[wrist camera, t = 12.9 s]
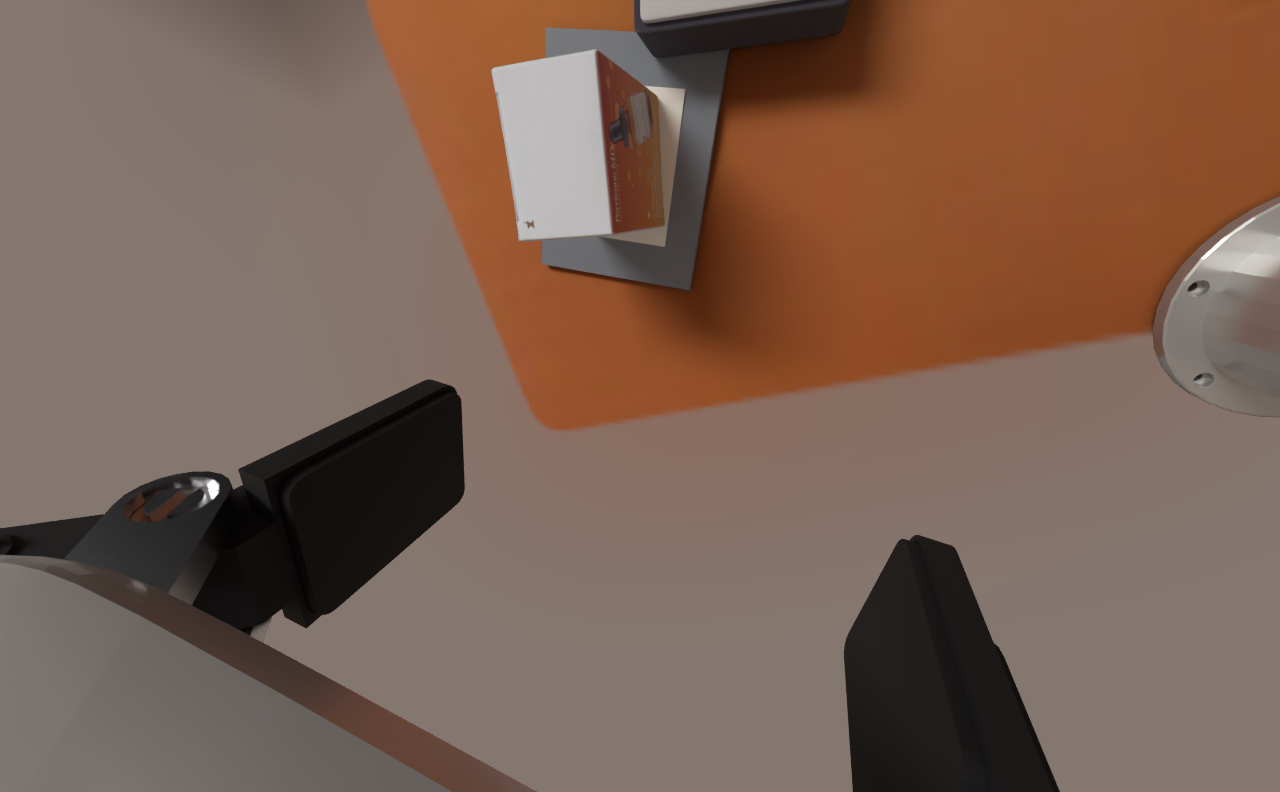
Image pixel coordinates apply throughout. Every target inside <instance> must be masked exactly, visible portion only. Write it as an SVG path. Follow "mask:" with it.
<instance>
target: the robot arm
mask: <svg viewBox="0 0 1280 792" xmlns="http://www.w3.org/2000/svg"><path fill="white" fill-rule="evenodd" d="M1190 285H1191V286H1190ZM1189 286H1190V287H1189ZM1188 287H1189V288H1188ZM1153 340H1154V349H1155V352H1156V355H1157V357H1158V360H1159V362H1160V365H1161V367H1162V368H1163V369H1164V370H1165V372H1166V373H1167V374H1168V376H1169V377H1170V378H1171V379H1172V381H1174V382H1175V383H1176V384H1178V385H1179V386H1180V387H1181V388H1183V389H1184V390H1185V391H1186V392H1188V393H1190V394H1192V395H1194V396H1196V397H1198V398H1200V399H1201V400H1203V401H1205V402H1207V403H1209V404H1212V405H1215V406H1218V407H1220V408H1223V409H1226V410H1229V411H1232V412H1237V413H1242V414H1248V415H1253V416H1262V417H1280V196H1279V197H1277V198H1274V199H1272V200H1270V201H1268V202H1266V203H1264V204H1262V205H1259V206H1257V207H1255V208H1253V209H1252V210H1250V211H1249V212H1247V213H1245V214H1244V215H1242V216H1240V217H1239V218H1237V219H1236V220H1234V221H1232V222H1231V223H1229V224H1227V225H1226V226H1224V227H1223V228H1222V229H1221V230H1219V231H1218V232H1217V233H1216V234H1214V235H1213V236H1212V237H1211V238H1209V239H1208V240H1207V241H1206V242H1204V243H1203V244H1202V245H1201V246H1200V247H1199V248H1198V249H1197V250H1196V251H1195V252H1194V253H1193V254H1192V255H1191V256H1190V257H1189V258H1188V259H1187V260H1186V261H1185V263H1184V264H1183V265H1182V266H1181V267H1180V268H1179V270H1178V271H1177V272H1176V274H1175V275H1174V277H1173V278H1172V280H1171V281H1170V283H1169V284H1168V286H1167V287H1166V289H1165V291H1164V293H1163V296H1162V298H1161V300H1160V303H1159V305H1158V307H1157V309H1156V314H1155V320H1154V325H1153ZM461 408H462V407H461V398H460V397H459V396H458V395H457V392H456V390H455V388H454V387H452V386H450V385H447V384H443V383H440V382H437V381H434V380H425V381H423V382H421V383H419V384H416V385H414V386H412V387H410V388H408V389H406V390H404V391H402V392H400V393H398V394H396V395H393V396H391V397H389V398H387V399H385V400H383V401H381V402H379V403H377V404H374V405H372V406H370V407H368V408H366V409H364V410H362V411H360V412H358V413H355V414H353V415H351V416H349V417H347V418H345V419H343V420H341V421H339V422H337V423H334V424H332V425H330V426H328V427H326V428H324V429H322V430H320V431H318V432H316V433H313V434H311V435H309V436H307V437H305V438H303V439H301V440H299V441H297V442H295V443H293V444H290V445H288V446H286V447H284V448H282V449H280V450H278V451H276V452H274V453H271V454H269V455H267V456H265V457H264V458H261V459H259V460H257V461H255V462H253V463H251V464H248V465H246V466H244V467H242V468H240V469H239V473H240V476H241V480H242V483H243V485H242V486H240V487H238V488H236V489H234V490H233V488H232V485H231V482H230V480H229V478H227V477H225V476H224V475H222V474H219V473H214V472H209V471H208V472H207V471H206V472H205V471H204V472H187V473H181V474H175V475H171V476H167V477H163V478H160V479H156V480H154V481H151V482H149V483H146V484H144V485H141V486H139V487H138V488H136V489H134V490H132V491H130V492H128V493H127V494H125V495H124V496H123V497H121V498H120V499H119V500H118V501H117V502H115V503H114V504H113V505H112V506H111V508H110V509H109V510H108V511H107V512H106V513H105V514H103V515H95V516H88V517H81V518H74V519H67V520H59V521H51V522H45V523H37V524H31V525H23V526H16V527H8V528H0V792H536V791H534V790H533V789H531V788H529V787H527V786H525V785H524V784H522V783H520V782H518V781H516V780H515V779H513V778H511V777H509V776H507V775H505V774H504V773H502V772H500V771H498V770H496V769H494V768H493V767H491V766H489V765H487V764H485V763H483V762H482V761H480V760H478V759H476V758H474V757H472V756H471V755H468V754H467V753H465V752H463V751H462V750H460V749H458V748H456V747H454V746H452V745H450V744H449V743H447V742H445V741H443V740H441V739H440V738H438V737H436V736H434V735H432V734H430V733H429V732H426V731H425V730H423V729H421V728H419V727H418V726H416V725H414V724H412V723H410V722H408V721H407V720H405V719H403V718H401V717H399V716H397V715H396V714H394V713H392V712H390V711H388V710H386V709H384V708H382V707H381V706H379V705H377V704H375V703H374V702H372V701H370V700H368V699H366V698H364V697H363V696H361V695H358V694H357V693H355V692H353V691H351V690H349V689H348V688H346V687H344V686H342V685H340V684H339V683H337V682H335V681H333V680H331V679H329V678H327V677H326V676H324V675H322V674H320V673H318V672H316V671H314V670H313V669H310V668H309V667H307V666H305V665H303V664H301V663H299V662H298V661H296V660H294V659H292V658H290V657H288V656H286V655H284V654H283V653H281V652H279V651H277V650H275V649H273V648H271V647H270V646H268V645H266V644H264V643H263V641H264V638H265V635H266V632H267V629H268V626H269V624H270V621H271V618H272V616H273V615H274V614H276V613H277V612H278V611H279V610H281V609H282V610H283V613H284V616H285V617H286V618H287V619H289V620H291V621H293V622H295V623H297V624H299V625H301V626H303V627H305V628H307V627H309V625H311V624H312V623H313V622H314V621H315V620H317V619H318V618H319V617H320V616H321V615H325V614H329V613H331V612H332V611H334V610H335V609H336V608H337V607H339V606H340V605H341V604H342V603H343V602H345V601H346V600H347V599H348V598H349V597H350V596H351V595H353V594H354V593H355V592H356V591H357V590H358V589H360V588H361V587H362V586H363V585H364V584H365V583H367V582H368V581H369V580H370V579H371V578H372V577H374V576H375V575H376V574H377V573H378V572H379V571H380V570H382V569H383V568H384V567H385V566H386V565H387V564H389V562H391V561H392V560H393V559H394V558H395V557H397V556H398V555H399V554H400V553H401V552H402V551H403V550H405V549H406V548H407V547H408V546H409V545H410V544H412V543H413V542H414V541H415V540H416V539H417V538H419V537H420V536H421V535H422V534H423V533H424V532H425V531H427V530H428V529H429V528H430V527H431V526H432V525H434V523H436V522H437V521H438V520H439V519H440V518H442V517H443V516H444V515H445V514H446V513H447V512H449V511H450V510H451V509H452V508H453V507H454V506H455V505H457V504H458V503H459V501H460V500H461V498H462V496H463V494H464V489H465V484H464V459H463V435H462V409H461ZM844 662H845V676H846V693H847V708H848V723H849V737H850V753H851V768H852V784H853V792H1060V791H1059V789H1058V786H1057V784H1056V781H1055V779H1054V777H1053V774H1052V772H1051V769H1050V767H1049V765H1048V762H1047V760H1046V757H1045V755H1044V752H1043V750H1042V748H1041V745H1040V743H1039V740H1038V738H1037V735H1036V733H1035V731H1034V728H1033V726H1032V723H1031V721H1030V719H1029V716H1028V714H1027V711H1026V709H1025V706H1024V704H1023V702H1022V699H1021V697H1020V694H1019V692H1018V689H1017V687H1016V684H1015V682H1014V680H1013V677H1012V675H1011V672H1010V670H1009V668H1008V665H1007V663H1006V660H1005V658H1004V656H1003V654H1002V652H1001V651H1000V649H999V647H998V646H997V645H995V644H994V643H993V640H992V638H991V635H990V633H989V630H988V628H987V625H986V623H985V621H984V618H983V616H982V613H981V610H980V608H979V605H978V603H977V600H976V598H975V596H974V593H973V590H972V588H971V586H970V583H969V581H968V578H967V576H966V573H965V571H964V568H963V566H962V563H961V561H960V558H959V556H958V553H957V551H956V549H955V548H954V547H953V546H951V545H948V544H944V543H942V542H939V541H935V540H932V539H929V538H926V537H923V536H920V535H915V536H913V537H912V538H911V539H910V541H909V540H905V539H901V540H899V541H898V543H897V545H896V546H895V548H894V550H893V552H892V554H891V556H890V558H889V559H888V561H887V563H886V565H885V567H884V569H883V571H882V572H881V574H880V576H879V578H878V580H877V582H876V583H875V585H874V587H873V589H872V591H871V593H870V594H869V596H868V598H867V600H866V602H865V604H864V606H863V608H862V609H861V611H860V613H859V615H858V617H857V619H856V620H855V622H854V624H853V626H852V628H851V630H850V632H849V634H848V636H847V638H846V642H845V648H844Z"/></svg>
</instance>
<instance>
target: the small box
mask: <svg viewBox="0 0 1280 792" xmlns="http://www.w3.org/2000/svg"><path fill="white" fill-rule="evenodd" d="M492 77H493V82H494V87H495V92H496V96H497V101H498V107H499V112H500V118H501V124H502V130H503V136H504V142H505V148H506V154H507V160H508V166H509V172H510V179H511V185H512V192H513V198H514V205H515V212H516V220H517V229H518V238H519V240H520V241H541V240H559V239H575V238H589V237H600V236H612V235H620V234H625V233H630V232H636V231H642V230H648V229H653V228H659V227H663V226H664V225H665V220H664V208H663V194H662V174H661V148H660V126H659V102H658V97H657V95H656V94H654V93H653V92H652V91H650V90H649V89H648V88H647V87H645V86H644V85H643V84H641V83H640V82H639V81H637V80H636V79H635V78H634V77H632V76H631V75H630V74H628V73H627V72H626V71H625V70H623V69H622V68H621V67H619V66H618V65H617V64H615V63H614V62H613V61H611V60H610V59H609V58H608V57H606V56H605V55H604V54H602V53H601V52H600V51H599V50H597V49H593V50H588V51H582V52H577V53H571V54H565V55H560V56H554V57H549V58H543V59H538V60H533V61H527V62H522V63H516V64H511V65H506V66H500V67H495V68H493V69H492Z"/></svg>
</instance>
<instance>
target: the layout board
mask: <svg viewBox="0 0 1280 792" xmlns="http://www.w3.org/2000/svg"><path fill="white" fill-rule="evenodd" d="M593 49H597V50H599V51H600V52H601V53H602V54H604V55H605V56H606V57H608V58H609V59H610V60H611V61H613V62H614V63H615V64H617V65H618V66H619V67H621V68H622V69H623V70H625V71H626V72H627V73H628V74H630V75H631V76H632V77H634V78H635V79H636V80H637V81H639V82H640V83H641V84H643V85H644V86H645V87H647V88H648V89H649V90H650V91H652V92H653V93H654V94H656V95H657V97H658V102H659V126H660V148H661V174H662V194H663V208H664V220H665V225H664V226H663V227H659V228H653V229H648V230H642V231H636V232H630V233H625V234H620V235H612V236H600V237H589V238H575V239H559V240H542V264H544V265H550V266H556V267H561V268H567V269H572V270H578V271H584V272H589V273H595V274H600V275H606V276H612V277H617V278H623V279H628V280H634V281H640V282H645V283H651V284H656V285H662V286H668V287H673V288H679V289H685V290H690V289H691V286H692V280H693V274H694V267H695V261H696V255H697V249H698V243H699V236H700V230H701V224H702V218H703V212H704V205H705V199H706V193H707V187H708V180H709V174H710V168H711V162H712V156H713V149H714V143H715V137H716V131H717V124H718V118H719V112H720V106H721V100H722V93H723V87H724V81H725V75H726V68H727V62H728V56H729V50H730V49H725V50H718V51H710V52H702V53H695V54H687V55H680V56H672V57H664V58H655V57H653V56H652V54H651V53H650V52H649V50H648V49H647V47H646V46H645V44H644V43H643V42H642V40H641V39H640V37H639V36H638V34H637V33H636V32H627V31H607V30H587V29H567V28H547V27H546V44H545V58H549V57H554V56H560V55H565V54H571V53H577V52H582V51H588V50H593Z"/></svg>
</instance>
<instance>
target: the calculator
mask: <svg viewBox="0 0 1280 792" xmlns="http://www.w3.org/2000/svg"><path fill="white" fill-rule="evenodd" d="M849 4H850V0H634V21H635V31H636V33H637V34H638V36H639V37H640V39H641V40H642V42H643V43H644V44H645V46H646V47H647V49H648V50H649V52H650V53H651V54H652V56H653V57H655V58H664V57H672V56H680V55H687V54H695V53H702V52H710V51H718V50H725V49H733V48H741V47H748V46H756V45H764V44H771V43H779V42H787V41H794V40H802V39H810V38H817V37H825V36H832V35H836V34H838V33H839V32H840V31H841V30H842V28H843V26H844V23H845V19H846V15H847V12H848V8H849Z"/></svg>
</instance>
